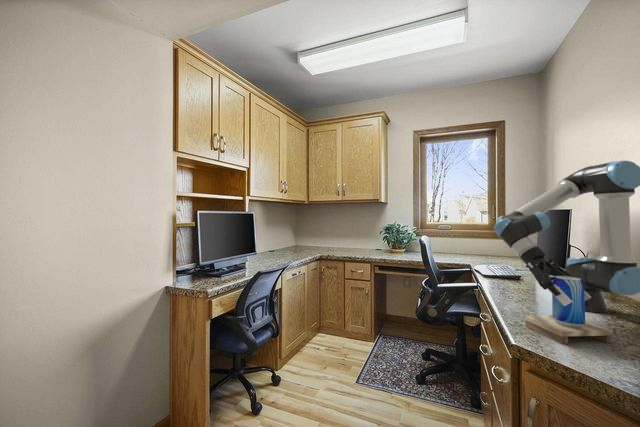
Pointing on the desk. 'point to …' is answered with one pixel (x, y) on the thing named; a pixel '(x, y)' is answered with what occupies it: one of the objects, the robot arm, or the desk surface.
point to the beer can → (576, 309)
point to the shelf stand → (566, 329)
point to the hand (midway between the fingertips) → (578, 301)
